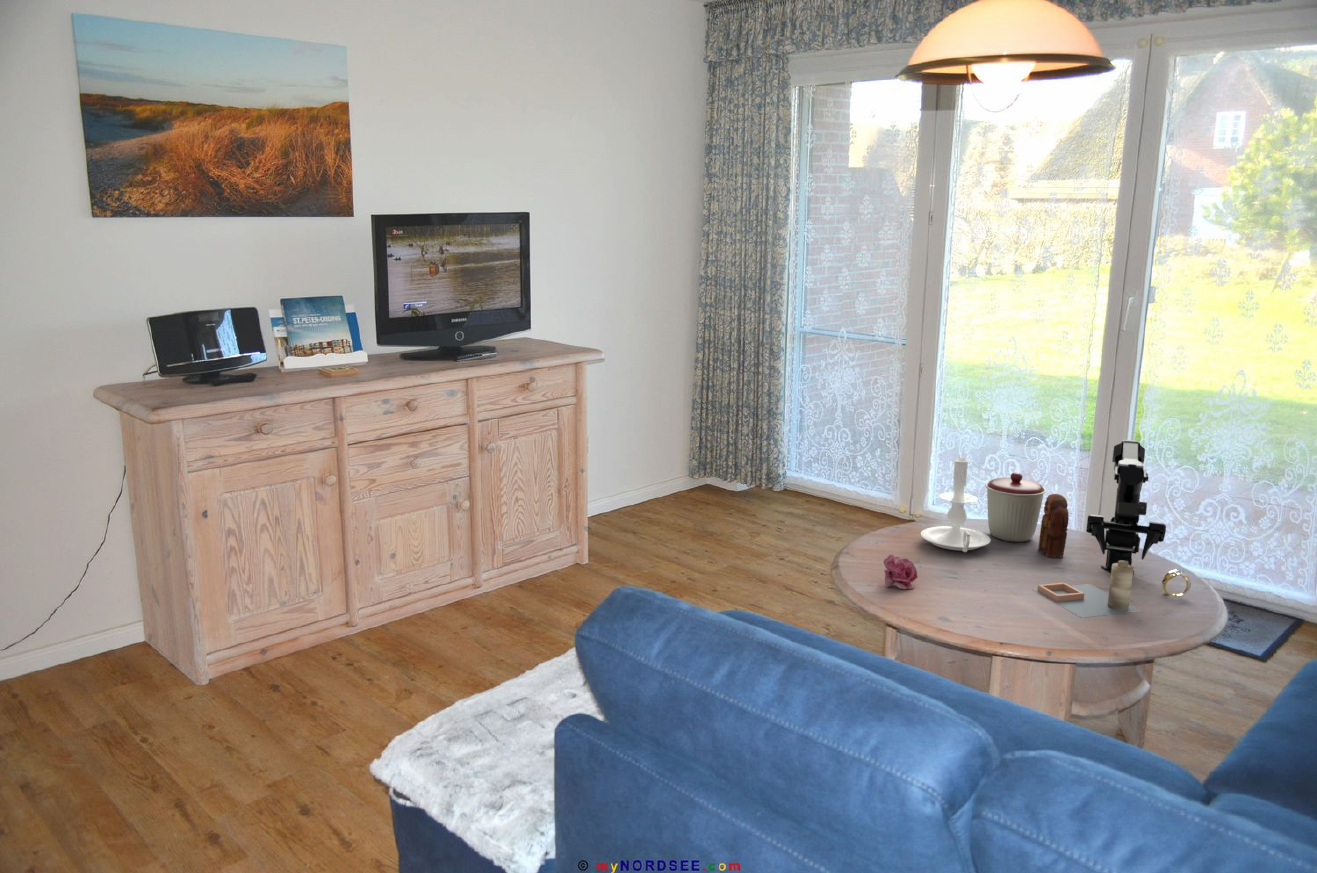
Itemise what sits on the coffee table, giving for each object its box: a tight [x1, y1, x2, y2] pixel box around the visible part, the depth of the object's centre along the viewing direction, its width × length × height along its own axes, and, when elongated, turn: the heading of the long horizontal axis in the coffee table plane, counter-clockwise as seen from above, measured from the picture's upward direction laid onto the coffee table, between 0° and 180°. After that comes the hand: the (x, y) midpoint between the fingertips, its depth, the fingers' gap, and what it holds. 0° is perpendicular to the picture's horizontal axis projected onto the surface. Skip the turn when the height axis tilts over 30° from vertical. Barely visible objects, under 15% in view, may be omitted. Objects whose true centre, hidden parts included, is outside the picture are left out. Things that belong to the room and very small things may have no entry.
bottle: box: [1107, 560, 1135, 611], centre depth 254 cm, size 5×5×12 cm
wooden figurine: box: [1038, 493, 1070, 559], centre depth 298 cm, size 12×6×18 cm, turn 176°
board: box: [1032, 582, 1143, 619], centre depth 259 cm, size 20×18×2 cm
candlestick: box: [920, 457, 992, 553], centre depth 300 cm, size 21×25×28 cm
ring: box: [1161, 568, 1192, 599], centre depth 263 cm, size 7×3×8 cm, turn 79°
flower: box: [883, 554, 918, 590], centre depth 271 cm, size 10×9×9 cm
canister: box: [984, 471, 1047, 543], centre depth 312 cm, size 18×18×21 cm
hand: (1123, 556), depth 258 cm, fingers open, 9 cm apart
